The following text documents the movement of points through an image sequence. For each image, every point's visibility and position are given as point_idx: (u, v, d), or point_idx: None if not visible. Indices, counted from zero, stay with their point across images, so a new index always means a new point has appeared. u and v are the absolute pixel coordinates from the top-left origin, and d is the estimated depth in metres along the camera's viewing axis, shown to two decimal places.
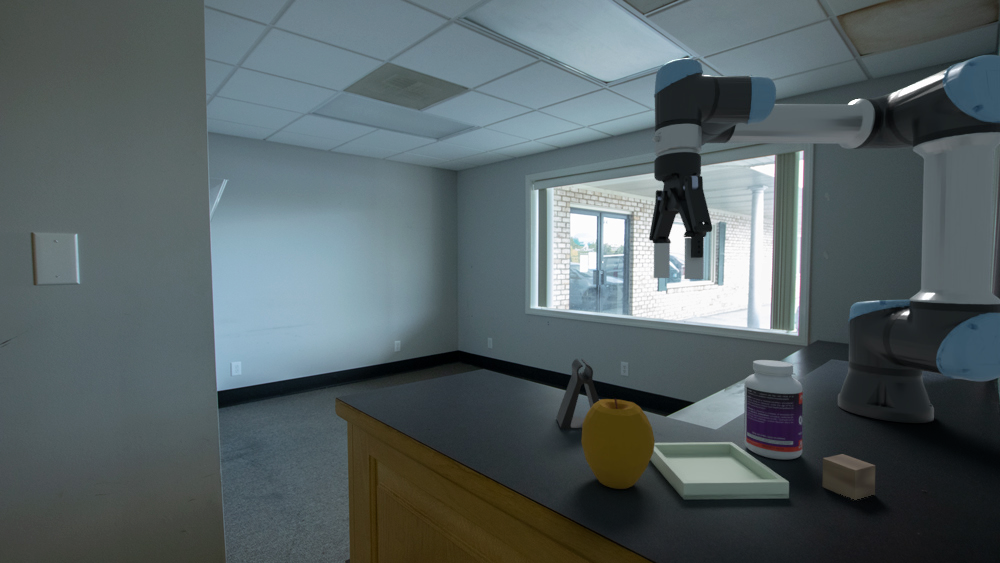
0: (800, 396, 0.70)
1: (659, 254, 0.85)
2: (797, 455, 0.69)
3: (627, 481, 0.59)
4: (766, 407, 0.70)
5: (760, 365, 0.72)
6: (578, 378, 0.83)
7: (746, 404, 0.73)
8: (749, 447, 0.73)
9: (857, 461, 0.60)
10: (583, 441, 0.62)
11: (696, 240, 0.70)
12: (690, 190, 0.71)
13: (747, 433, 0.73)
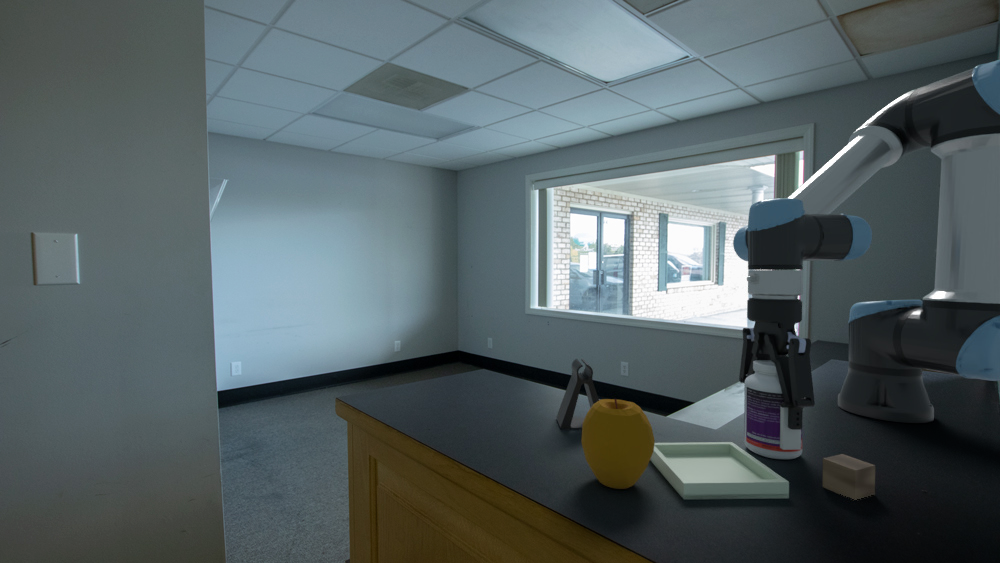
0: None
1: None
2: (797, 455, 0.69)
3: (627, 481, 0.59)
4: (766, 407, 0.70)
5: (760, 365, 0.72)
6: (578, 378, 0.83)
7: (746, 404, 0.73)
8: (749, 447, 0.73)
9: (857, 461, 0.60)
10: (583, 441, 0.62)
11: (795, 412, 0.67)
12: (795, 356, 0.66)
13: (747, 433, 0.73)
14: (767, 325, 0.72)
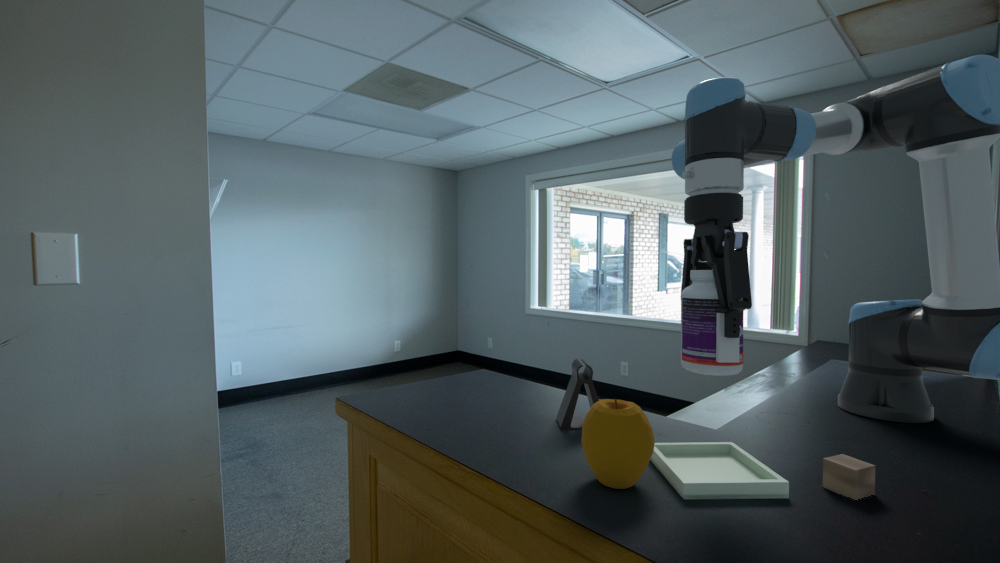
0: None
1: None
2: (736, 370, 0.61)
3: (627, 481, 0.59)
4: (701, 316, 0.61)
5: (696, 271, 0.63)
6: (578, 378, 0.83)
7: (682, 317, 0.65)
8: (684, 365, 0.64)
9: (858, 461, 0.60)
10: (583, 441, 0.62)
11: (731, 317, 0.58)
12: (731, 252, 0.57)
13: (683, 350, 0.64)
14: (705, 227, 0.64)
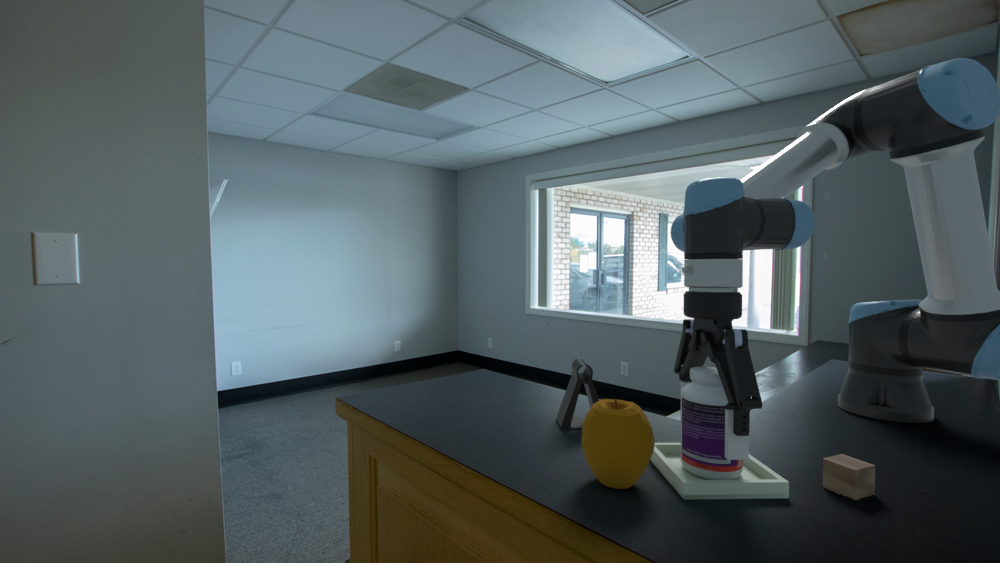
0: None
1: None
2: (735, 475, 0.61)
3: (627, 481, 0.59)
4: (700, 421, 0.62)
5: (696, 373, 0.63)
6: (578, 378, 0.83)
7: (681, 417, 0.65)
8: (684, 465, 0.64)
9: (857, 461, 0.60)
10: (583, 441, 0.62)
11: (741, 415, 0.56)
12: (733, 350, 0.57)
13: (682, 450, 0.65)
14: (704, 322, 0.64)
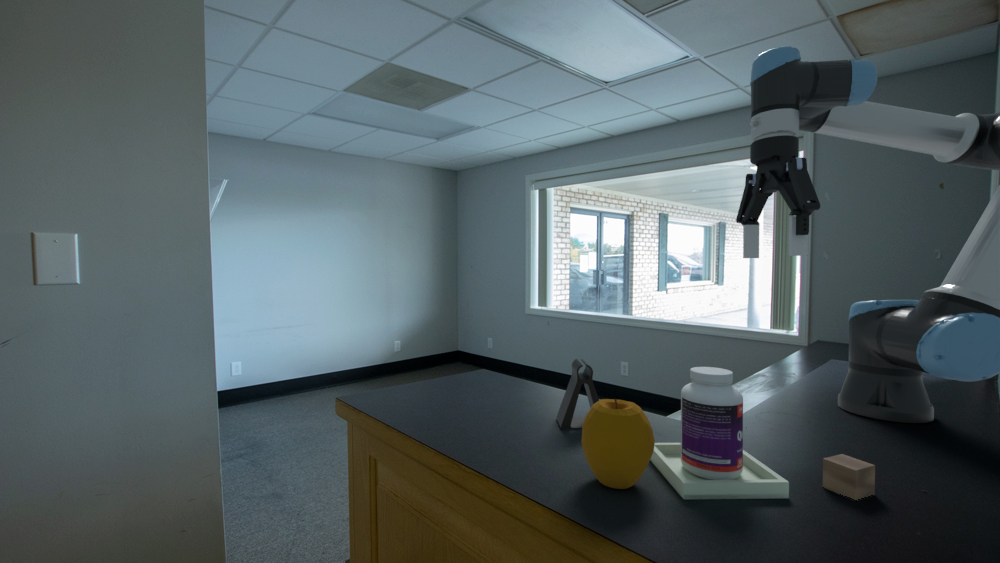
0: (739, 408, 0.61)
1: (749, 235, 0.89)
2: (735, 475, 0.61)
3: (627, 481, 0.59)
4: (701, 421, 0.62)
5: (696, 373, 0.63)
6: (578, 378, 0.83)
7: (682, 417, 0.65)
8: (684, 465, 0.64)
9: (857, 461, 0.60)
10: (583, 441, 0.62)
11: (802, 218, 0.74)
12: (795, 171, 0.75)
13: (682, 450, 0.65)
14: (768, 164, 0.82)
